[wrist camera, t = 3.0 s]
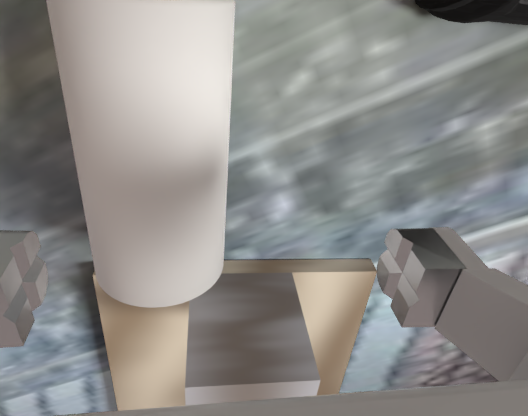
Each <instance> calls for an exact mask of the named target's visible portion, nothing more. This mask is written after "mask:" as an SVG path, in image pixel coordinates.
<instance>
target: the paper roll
mask: <svg viewBox="0 0 528 416" xmlns="http://www.w3.org/2000/svg"><path fill="white" fill-rule="evenodd" d="M46 3H47V8H48V14H49V19H50V25H51V30H52V36H53V41H54V47H55V52H56V58H57V63H58V69H59V75H60V80H61V86H62V91H63V97H64V102H65V108H66V113H67V119H68V124H69V130H70V135H71V141H72V147H73V152H74V158H75V163H76V169H77V174H78V180H79V185H80V191H81V196H82V202H83V207H84V213H85V218H86V224H87V230H88V235H89V241H90V246H91V252H92V257H93V263H94V268H95V274H96V279H97V281H98V284H99V285H100V287H101V288H102V289H103V290H104V291H105V292H106V293H107V294H108V295H109V296H111V297H112V298H114V299H116V300H118V301H120V302H122V303H125V304H128V305H133V306H138V307H147V308H157V307H167V306H173V305H177V304H181V303H184V302H187V301H190V300H192V299H194V298H196V297H198V296H200V295H201V294H203V293H205V292H206V291H207V290H208V289H210V288H211V287H212V286H213V285H214V284H215V283H216V281H217V280H218V279H219V277H220V275H221V273H222V270H223V264H224V242H225V220H226V198H227V175H228V153H229V131H230V109H231V86H232V64H233V42H234V20H235V1H234V0H46Z"/></svg>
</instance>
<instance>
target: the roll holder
mask: <svg viewBox="0 0 528 416" xmlns="http://www.w3.org/2000/svg"><path fill="white" fill-rule="evenodd" d="M376 273H377V270H376V269H375V267H374V265H373V263H372V261H371V259H310V260H224V264H223V270H222V273H221V275H220V277H219V279H218V280H217V281H216V283H215V284H214V285H213V286H212V287H211V288H210V289H208V290H207V291H206V292H205V293H203V294H201V295H200V296H198V297H196V298H194V299H192V300H190V301H187V302H184V303H181V304H177V305H173V306H167V307H157V308H147V307H138V306H133V305H128V304H125V303H122V302H120V301H118V300H116V299H114V298H112V297H111V296H109V295H108V294H107V293H106V292H105V291H104V290H103V289H102V288H101V287H100V285H99V284H98V281H97V279H96V274H95V270H94V273H93V280H94V285H95V291H96V296H97V301H98V307H99V312H100V317H101V323H102V328H103V334H104V339H105V344H106V350H107V355H108V360H109V366H110V371H111V377H112V382H113V387H114V393H115V398H116V403H117V409H118V411H121V410H134V409H147V408H160V407H173V406H186V405H199V404H212V403H225V402H238V401H251V400H264V399H277V398H290V397H303V396H316V395H329V394H338V393H339V390H340V387H341V384H342V381H343V378H344V374H345V371H346V368H347V365H348V362H349V359H350V355H351V352H352V349H353V346H354V343H355V340H356V336H357V333H358V330H359V327H360V324H361V321H362V317H363V314H364V311H365V308H366V305H367V302H368V298H369V295H370V292H371V289H372V286H373V283H374V279H375V276H376Z"/></svg>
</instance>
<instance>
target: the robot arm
mask: <svg viewBox="0 0 528 416" xmlns="http://www.w3.org/2000/svg"><path fill="white" fill-rule="evenodd" d="M384 243H385V244H386V246H387V248H388V249H387V250H386V251H385V252H384V253H383V254H382V255H381V256H380V258H379V261H378V265H377V278H378V282H379V285H380V287H381V289H382V291H383V293H384V294H386V295H387V296H389V297H390V298H392V299H393V300H392V303H391V308H392V310H393V312H394V314H395V316H396V317H397V319H398V321H399V323H400V325H401V327H435V329H436V330H437V331H439V332H440V333H441V334H442V335H443V336H445V337H446V338H447V339H448V340H450V341H451V342H452V343H453V344H454V345H456V346H457V347H458V348H459V349H460V350H462V351H463V352H464V353H465V354H466V355H468V356H469V357H470V358H471V359H472V360H474V361H475V362H476V363H477V364H479V365H480V366H481V367H482V368H483V369H485V370H486V371H487V372H488V373H489V374H491V375H492V376H493V377H494V378H495V379H497V380H498V381H499V382H486V383H473V384H460V385H447V386H434V387H421V388H408V389H394V390H381V391H368V392H355V393H342V394H329V395H316V396H303V397H290V398H277V399H264V400H251V401H238V402H225V403H212V404H199V405H186V406H173V407H160V408H147V409H134V410H121V411H107V412H94V413H81V414H68V415H55V416H528V285H526V284H524V283H522V282H520V281H518V280H516V279H514V278H512V277H510V276H508V275H506V274H504V273H502V272H500V271H499V270H497V269H489V268H488V267H487V266H486V265H485V264H484V263H483V262H482V261H481V259H480V258H479V257H478V256H477V255H476V254H475V253H474V252H473V251H472V250H471V248H470V247H469V246H468V245H467V244H466V243H465V242H464V241H463V240H462V239H461V237H460V236H459V235H458V234H457V233H456V232H455V231H454V230H453V229H451V228H449V227H437V228H422V229H391V230H390V231H389V232H388V234H387V236H386V239H385V242H384ZM40 247H41V245H40V242H39V239H38V236H37V234H36V233H35V232H33V231H11V230H0V348H3V347H17V346H23V345H24V343H25V341H26V338H27V336H28V334H29V332H30V329H31V327H32V325H33V323H34V321H35V320H34V317H33V314H32V311H33V310H35V309H36V308H37V307H39V306H40V305H41V304H42V302H43V300H44V297H45V295H46V290H47V284H48V274H47V268H46V264H45V262H44V261H43V260H42V259H40V258H39V257H38V256H37V253H38V251H39V249H40Z"/></svg>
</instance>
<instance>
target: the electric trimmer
mask: <svg viewBox="0 0 528 416" xmlns="http://www.w3.org/2000/svg"><path fill="white" fill-rule="evenodd" d="M415 2H416V4H417V5H418V6H419V7H421V8H424V9H428V11H429V12H430V13H431V14H432V15H434V16H436V17H439V18H442V19H445V20H448V21H453V22H460V23H472V22H485V21H491V22H501V23H512V24H522V25H528V0H415Z"/></svg>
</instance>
